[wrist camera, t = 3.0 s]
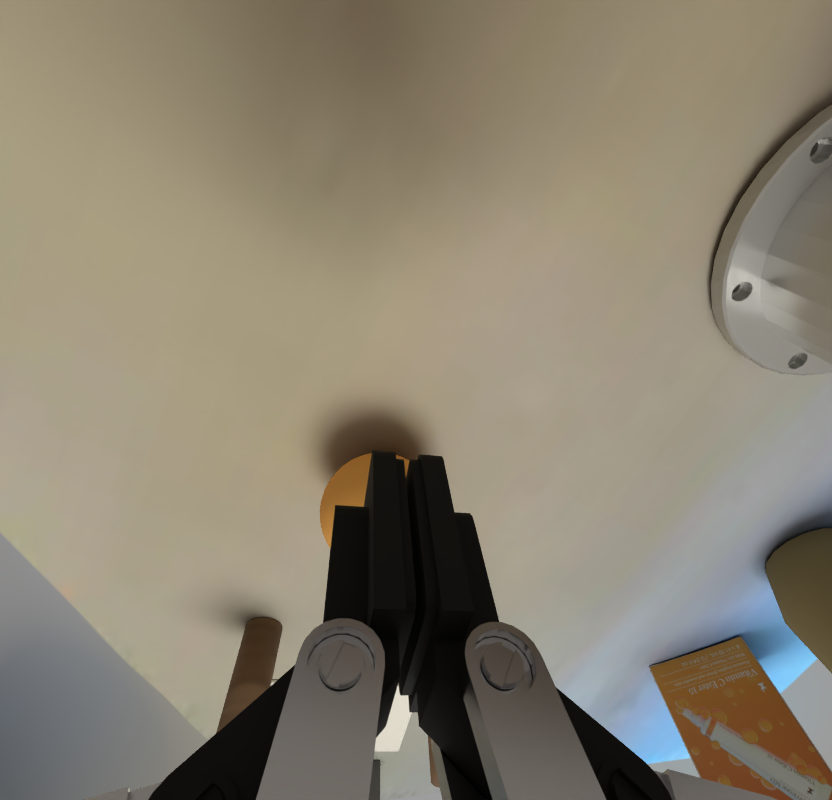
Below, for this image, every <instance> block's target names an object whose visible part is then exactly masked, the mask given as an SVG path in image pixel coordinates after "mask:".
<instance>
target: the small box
mask: <svg viewBox="0 0 832 800" xmlns="http://www.w3.org/2000/svg"><path fill="white" fill-rule="evenodd" d="M650 671H651V673H652V675H653V678H654V680H655V682H656V684H657V686H658V688H659V691H660V693H661V695H662V697H663V699H664V701H665V703H666V706H667V708H668V710H669V712H670V714H671V717H672V719H673V721H674V723H675V725H676V727H677V729H678V731H679V734H680V736H681V738H682V740H683V742H684V744H685V747H686V749H687V751H688V753H689V755H690V757H691V759H692V761H693V764H694V766H695V768H696V770H697V772H698V774H699V776H700V778H702V779H706V780H710V781H714V782H717V783H721V784H725V785H729V786H732V787H736V788H740V789H744V790H747V791H751V792H755V793H759V794H762V795H766V796H770V797H772V798H774V799H777V800H832V771H831V769H830V768H829V767H828V765H827V763H826V762H825V761H824V759H823V757H822V756H821V754H820V753H819V751H818V750H817V749H816V747H815V746H814V744H813V743H812V741H811V740H810V738H809V737H808V736H807V734H806V732H805V731H804V729H803V728H802V726H801V725H800V723H799V722H798V720H797V719H796V717H795V716H794V714H793V713H792V711H791V710H790V708H789V707H788V705H787V703H786V702H785V700H784V699H783V698H782V696H781V694H780V693H779V692H778V690H777V689H776V687H775V686H774V684H773V683H772V681H771V680H770V678H769V677H768V675H767V674H766V672H765V671H764V670H763V668H762V667H761V665H760V664H759V662H758V661H757V659H756V658H755V656H754V655H753V653H752V652H751V650H750V649H749V647H748V646H747V644H746V643H745V641H744V640H743V639H742V637H737V638H734V639H731V640H729V641H726V642H723V643H721V644H718V645H715V646H712V647H709V648H706V649H703V650H700V651H697V652H694V653H691V654H688V655H685V656H681V657H678V658H675V659H672V660H669V661H666V662H663V663H659V664H655V665H652V666H650Z"/></svg>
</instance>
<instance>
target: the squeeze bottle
mask: <svg viewBox="0 0 832 800" xmlns="http://www.w3.org/2000/svg"><path fill="white" fill-rule="evenodd" d="M766 575H767V577H768V580H769V582H770V585H771V588H772V590H773V593H774V595H775V598H776V600H777V603H778V606H779V608H780V611H781V613H782V616H783V618H784V621H785V623H786V624H787V625H788V626H789V628H790V629H791V630H792V631H793V632H794V633H795V634H796V635H797V636H798V638H799V639H800V640H801V641H802V642H803V643H804V644H805V645H806V646H807V647H808V648H809V649H810V650H811V652H812V653H813V654H814V655H815V656H816V657H817V658H818V659H819V660H820V661H821V662H822V663H823V664H824V665H825V667H826V668H827V669H828V670H829V671H830V672H831V673H832V528H822V529H818V530H814V531H810V532H807V533H803V534H801V535H799V536H797V537H795V538H793V539H791V540H789V541H787V542H786V543H785V544H783V545H782V546H781V547H780V548H778V549H777V550H776V551H774V552H773V554H772V555H771V557H770V558H769V560H768V561H767V563H766Z"/></svg>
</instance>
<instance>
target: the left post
mask: <svg viewBox="0 0 832 800" xmlns="http://www.w3.org/2000/svg"><path fill="white" fill-rule="evenodd" d="M281 633H282V625H281V624H280V623H279V622H278V621H276V620H274V619H271V618H266V617H259V618H254V619H252V620H250V621H249V622H248V623H247V624H246V627H245V631H244V635H243V638H242V642H241V646H240V649H239V653H238V656H237V660H236V664H235V667H234V671H233V675H232V678H231V682H230V685H229V689H228V693H227V696H226V700H225V704H224V707H223V711H222V714H221V718H220V722H219V725H218V729H217V733H218V732H219V731H220V730H221V729H222V728H223V727H225V726H226V725H227V724H228V723H229V722H230V721H231V720H233V719H234V718H235V717H236V716H237V715H238V714H239V713H241V712H242V711H243V710H244V709H245V708H246V707H247V706H249V705H250V704H251V703H252V702H253V701H254V700H255V699H257V698H258V697H259V696H260V695H261V694H262V693H263V692H265V691H266V690H267V689H268V688H269V687H270V686H271V682H272V677H273V672H274V667H275V662H276V657H277V652H278V648H279V643H280V638H281Z"/></svg>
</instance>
